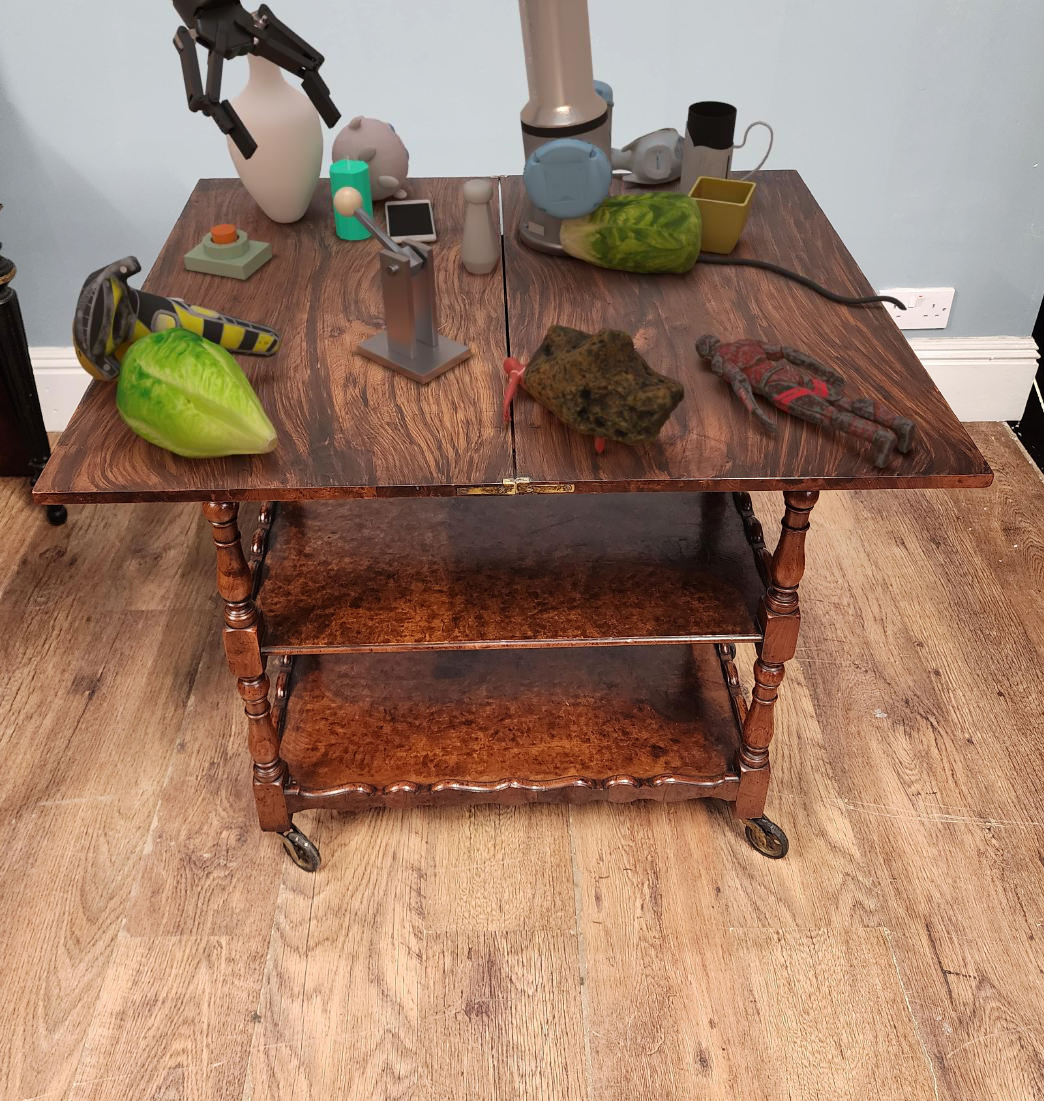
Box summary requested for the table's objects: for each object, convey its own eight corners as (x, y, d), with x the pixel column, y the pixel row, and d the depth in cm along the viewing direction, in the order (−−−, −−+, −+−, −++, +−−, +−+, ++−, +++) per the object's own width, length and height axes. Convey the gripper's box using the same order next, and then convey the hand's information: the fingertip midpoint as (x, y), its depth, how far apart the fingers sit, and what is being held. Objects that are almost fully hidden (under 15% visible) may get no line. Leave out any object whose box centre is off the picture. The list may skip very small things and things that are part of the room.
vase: (303, 244, 166) (275, 52, 148) (223, 229, 170) (187, 40, 152) (348, 208, 176) (327, 24, 158) (272, 195, 180) (243, 14, 162)
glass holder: (680, 189, 182) (689, 97, 172) (765, 198, 179) (779, 105, 169) (671, 210, 175) (680, 116, 166) (759, 220, 172) (773, 124, 163)
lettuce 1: (250, 513, 126) (211, 479, 114) (123, 428, 130) (73, 387, 119) (321, 419, 128) (288, 376, 116) (193, 338, 133) (150, 290, 121)
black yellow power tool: (316, 299, 129) (281, 286, 137) (92, 249, 113) (66, 237, 120) (292, 413, 133) (259, 394, 140) (71, 381, 116) (47, 361, 123)
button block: (272, 256, 164) (268, 231, 161) (245, 280, 158) (240, 254, 155) (215, 247, 166) (210, 222, 164) (186, 269, 161) (180, 244, 158)
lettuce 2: (561, 244, 165) (560, 176, 157) (697, 245, 164) (703, 176, 156) (557, 288, 158) (556, 219, 149) (700, 289, 156) (707, 219, 148)
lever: (324, 207, 135) (331, 185, 132) (346, 198, 137) (352, 176, 134) (400, 285, 134) (408, 266, 131) (420, 275, 136) (428, 255, 133)
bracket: (357, 353, 142) (345, 248, 132) (405, 327, 147) (397, 223, 138) (423, 385, 136) (415, 277, 127) (471, 356, 142) (467, 250, 132)
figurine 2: (930, 436, 128) (732, 340, 144) (941, 401, 124) (737, 307, 141) (858, 487, 120) (658, 379, 137) (867, 451, 117) (662, 345, 134)
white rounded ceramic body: (712, 133, 177) (700, 122, 186) (597, 132, 176) (590, 121, 184) (707, 187, 182) (695, 174, 190) (594, 187, 180) (587, 173, 189)
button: (242, 237, 160) (240, 226, 159) (229, 247, 158) (227, 236, 157) (221, 233, 161) (219, 222, 160) (208, 243, 159) (205, 232, 158)
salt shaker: (485, 280, 158) (482, 194, 149) (452, 271, 160) (448, 185, 151) (506, 265, 161) (505, 179, 153) (474, 256, 164) (472, 171, 155)
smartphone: (387, 241, 166) (384, 201, 177) (388, 245, 166) (384, 205, 177) (436, 238, 166) (430, 198, 178) (437, 242, 167) (430, 202, 178)
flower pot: (680, 254, 164) (685, 196, 158) (693, 231, 170) (699, 174, 164) (737, 263, 161) (745, 205, 156) (749, 239, 168) (757, 182, 162)
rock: (620, 360, 109) (499, 302, 122) (608, 464, 115) (494, 398, 128) (710, 336, 116) (587, 284, 129) (694, 436, 122) (578, 376, 135)
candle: (368, 242, 167) (360, 165, 159) (331, 238, 168) (321, 162, 160) (379, 225, 172) (372, 150, 164) (343, 222, 173) (335, 147, 165)
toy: (380, 112, 165) (377, 88, 177) (313, 151, 167) (314, 124, 179) (427, 195, 173) (420, 167, 185) (363, 231, 175) (360, 200, 187)
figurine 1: (664, 419, 131) (550, 349, 141) (667, 394, 128) (551, 325, 139) (569, 473, 123) (456, 395, 133) (571, 448, 120) (455, 371, 131)
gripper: (265, -15, 143) (355, 126, 145) (101, 27, 128) (204, 183, 131) (286, -54, 137) (379, 94, 139) (116, -14, 122) (224, 150, 125)
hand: (295, 137), depth 135 cm, fingers open, 13 cm apart
